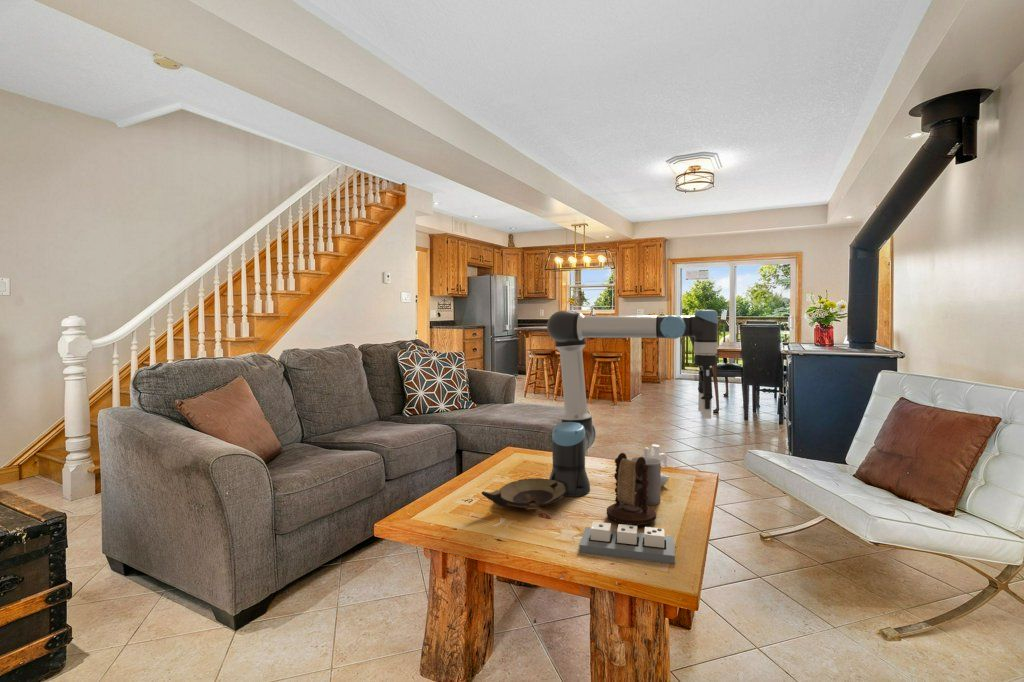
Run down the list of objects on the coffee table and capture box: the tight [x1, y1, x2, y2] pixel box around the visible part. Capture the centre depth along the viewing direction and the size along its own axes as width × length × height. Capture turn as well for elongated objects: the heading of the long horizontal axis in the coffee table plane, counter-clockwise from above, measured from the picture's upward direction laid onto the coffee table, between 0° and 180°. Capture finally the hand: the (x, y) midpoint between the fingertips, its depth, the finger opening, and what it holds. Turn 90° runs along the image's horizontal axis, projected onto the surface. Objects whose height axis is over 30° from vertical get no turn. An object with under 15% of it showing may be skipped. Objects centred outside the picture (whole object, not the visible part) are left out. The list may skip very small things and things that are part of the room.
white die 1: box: [590, 521, 612, 543], centre depth 138 cm, size 5×5×3 cm
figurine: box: [643, 443, 670, 487], centre depth 186 cm, size 7×9×15 cm
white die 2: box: [616, 523, 638, 546], centre depth 136 cm, size 5×5×3 cm
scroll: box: [606, 452, 657, 529], centre depth 155 cm, size 15×15×20 cm
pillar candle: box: [631, 456, 662, 506], centre depth 171 cm, size 10×10×15 cm
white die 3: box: [643, 526, 665, 549], centre depth 134 cm, size 5×5×3 cm
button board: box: [578, 526, 676, 564], centre depth 136 cm, size 24×12×2 cm, turn 74°
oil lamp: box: [481, 477, 566, 509], centre depth 168 cm, size 22×30×8 cm
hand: (704, 414), depth 177 cm, fingers open, 13 cm apart
